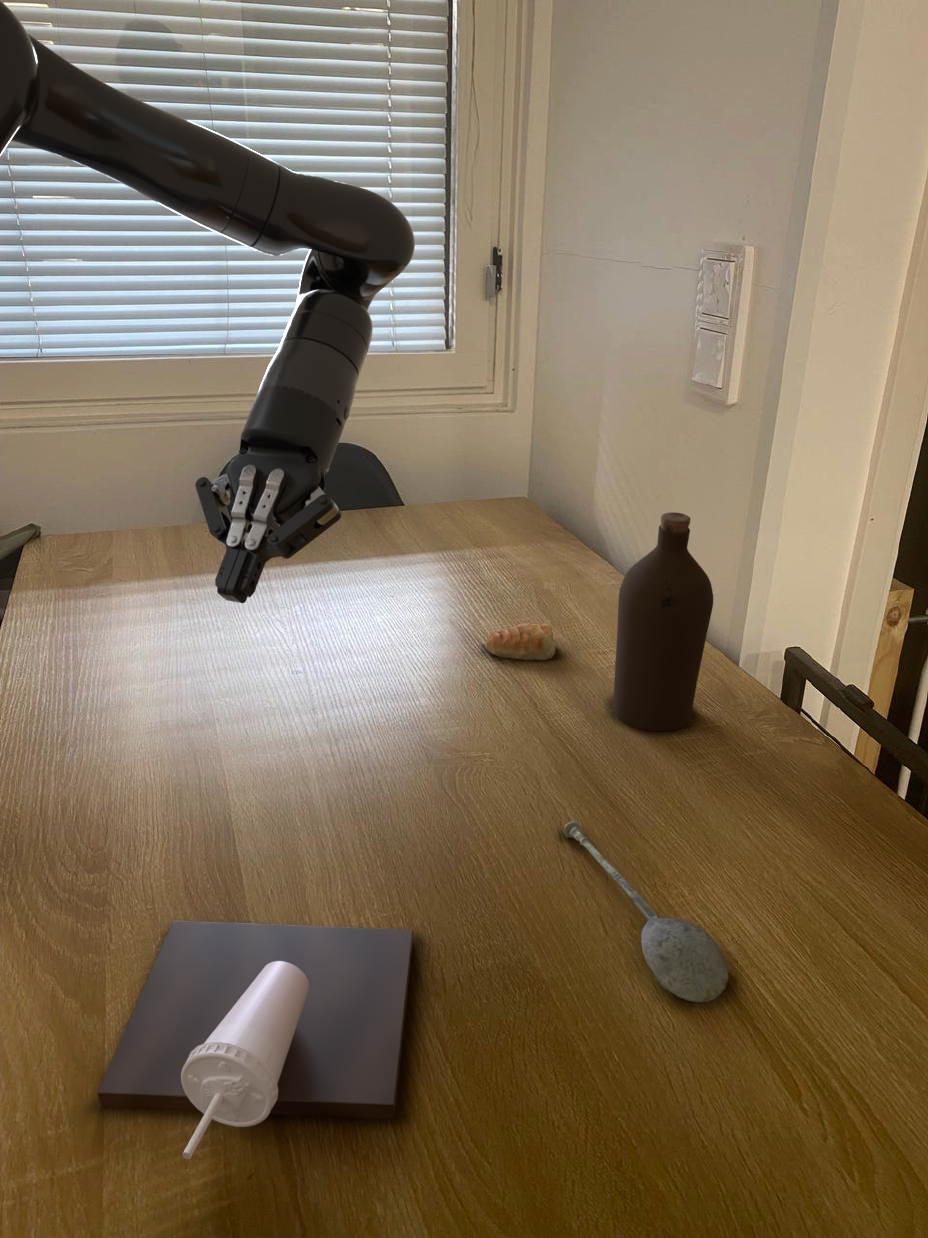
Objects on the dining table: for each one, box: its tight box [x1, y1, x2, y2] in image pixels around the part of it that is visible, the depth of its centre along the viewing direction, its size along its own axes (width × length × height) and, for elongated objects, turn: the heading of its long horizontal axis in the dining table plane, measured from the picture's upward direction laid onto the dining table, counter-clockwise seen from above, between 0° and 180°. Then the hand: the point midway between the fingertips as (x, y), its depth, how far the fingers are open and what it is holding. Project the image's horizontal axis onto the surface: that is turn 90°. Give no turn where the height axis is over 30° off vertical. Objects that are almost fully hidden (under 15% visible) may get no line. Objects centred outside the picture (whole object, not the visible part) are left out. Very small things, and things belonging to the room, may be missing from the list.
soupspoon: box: [562, 820, 729, 1004], centre depth 79 cm, size 22×3×7 cm
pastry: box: [484, 622, 556, 661], centre depth 124 cm, size 9×7×4 cm
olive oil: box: [612, 511, 714, 733], centre depth 105 cm, size 11×11×25 cm
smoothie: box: [181, 961, 309, 1160], centre depth 60 cm, size 6×6×14 cm
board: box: [97, 920, 414, 1120], centre depth 68 cm, size 20×16×2 cm
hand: (230, 598), depth 71 cm, fingers closed
